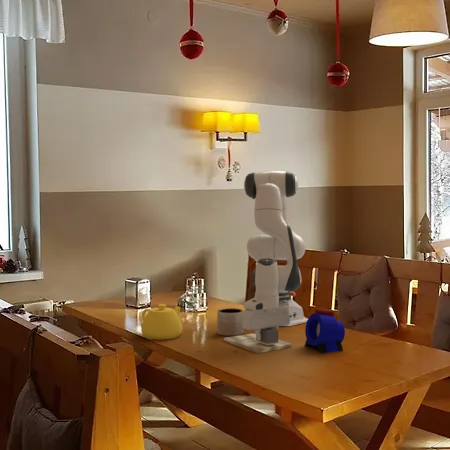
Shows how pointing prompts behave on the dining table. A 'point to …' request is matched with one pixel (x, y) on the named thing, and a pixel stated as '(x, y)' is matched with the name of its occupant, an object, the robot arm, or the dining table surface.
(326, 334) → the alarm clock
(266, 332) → the block
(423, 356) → the dining table surface
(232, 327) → the planter
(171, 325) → the teapot
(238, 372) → the dining table surface
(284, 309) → the robot arm
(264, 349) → the board
